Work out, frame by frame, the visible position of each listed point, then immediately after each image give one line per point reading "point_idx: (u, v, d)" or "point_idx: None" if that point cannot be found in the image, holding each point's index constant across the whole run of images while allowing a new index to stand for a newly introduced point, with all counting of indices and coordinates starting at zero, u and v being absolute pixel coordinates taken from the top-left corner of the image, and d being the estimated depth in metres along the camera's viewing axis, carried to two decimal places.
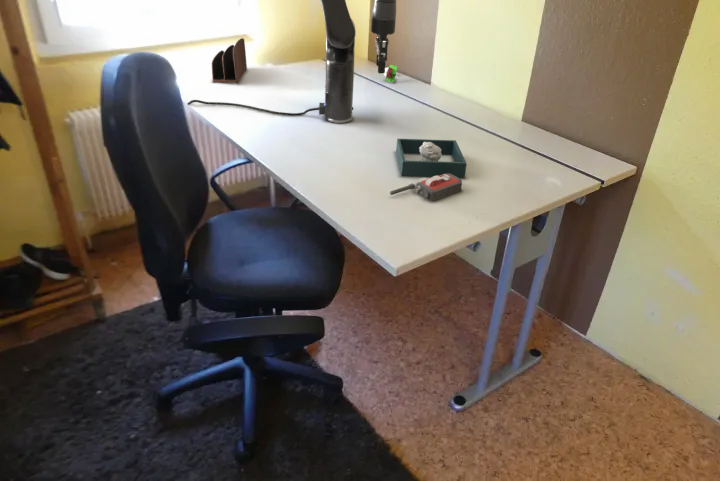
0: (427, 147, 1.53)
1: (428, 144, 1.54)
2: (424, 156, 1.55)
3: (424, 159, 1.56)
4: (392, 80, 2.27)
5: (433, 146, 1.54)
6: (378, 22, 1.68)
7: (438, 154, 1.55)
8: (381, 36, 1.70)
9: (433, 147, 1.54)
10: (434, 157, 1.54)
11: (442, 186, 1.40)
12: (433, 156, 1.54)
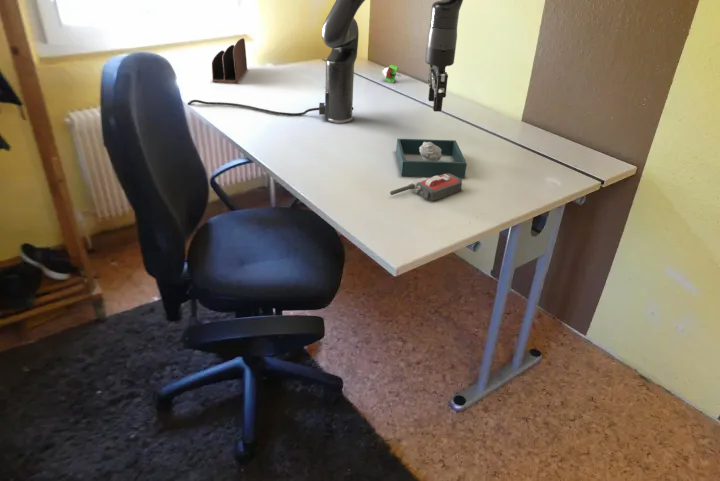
0: (427, 147, 1.53)
1: (428, 144, 1.54)
2: (424, 156, 1.55)
3: (424, 159, 1.56)
4: (392, 80, 2.27)
5: (433, 146, 1.54)
6: (436, 52, 1.40)
7: (438, 154, 1.55)
8: (439, 68, 1.42)
9: (433, 147, 1.54)
10: (434, 157, 1.54)
11: (442, 186, 1.40)
12: (433, 156, 1.54)
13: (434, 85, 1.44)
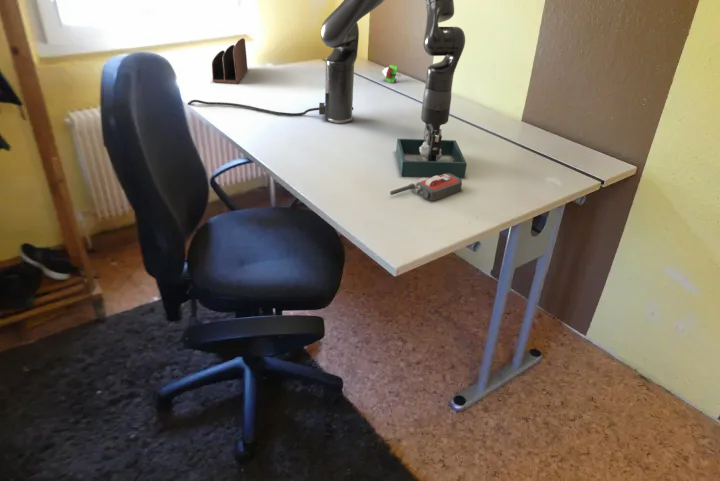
0: (427, 147, 1.53)
1: None
2: (424, 156, 1.55)
3: (424, 159, 1.56)
4: (392, 80, 2.27)
5: None
6: (431, 112, 1.47)
7: None
8: (433, 126, 1.48)
9: None
10: None
11: (442, 186, 1.40)
12: None
13: (429, 143, 1.51)
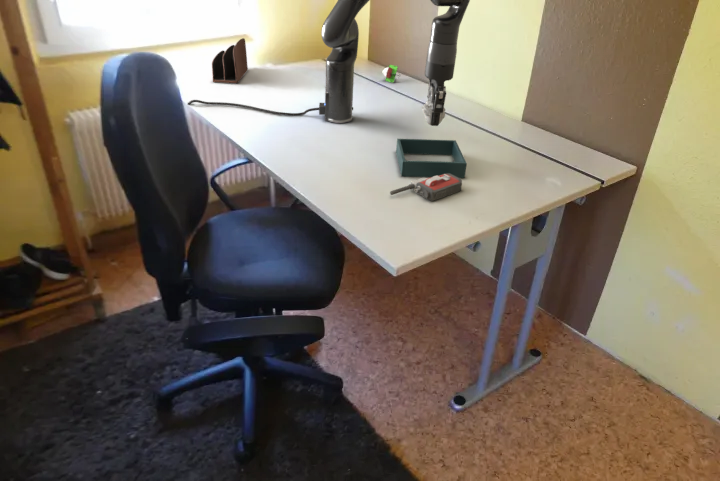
0: (430, 105, 1.47)
1: None
2: (427, 115, 1.49)
3: (427, 118, 1.50)
4: (392, 80, 2.27)
5: (437, 105, 1.48)
6: (435, 66, 1.40)
7: (442, 113, 1.49)
8: (438, 83, 1.42)
9: (437, 106, 1.48)
10: None
11: (442, 186, 1.40)
12: None
13: (432, 100, 1.45)
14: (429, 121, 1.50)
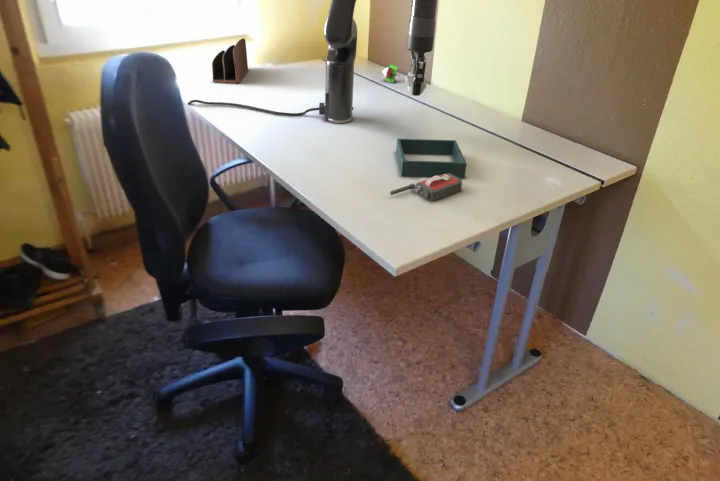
0: (412, 76, 1.59)
1: None
2: (410, 85, 1.60)
3: (410, 89, 1.61)
4: (392, 80, 2.27)
5: (418, 75, 1.59)
6: (415, 39, 1.52)
7: (423, 83, 1.60)
8: (418, 54, 1.54)
9: (418, 76, 1.59)
10: None
11: (442, 186, 1.40)
12: None
13: (414, 71, 1.56)
14: (411, 91, 1.61)
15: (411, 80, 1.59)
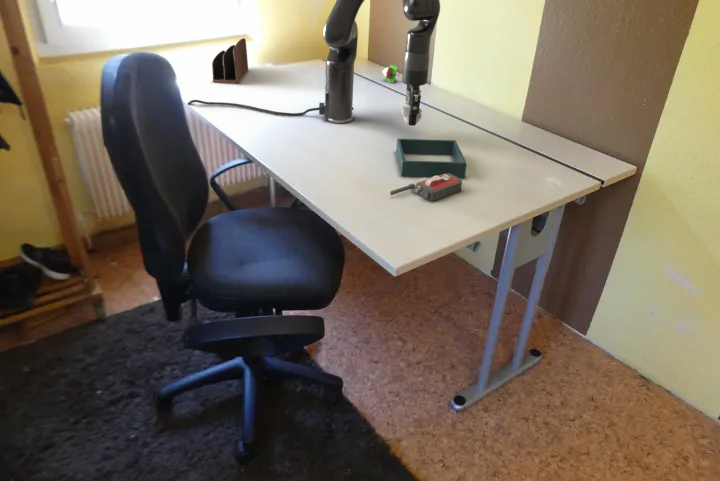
0: (408, 107, 1.66)
1: None
2: (405, 116, 1.67)
3: (406, 119, 1.68)
4: (392, 80, 2.27)
5: None
6: (410, 73, 1.59)
7: (418, 114, 1.67)
8: (413, 87, 1.61)
9: (414, 107, 1.66)
10: None
11: (442, 186, 1.40)
12: None
13: (409, 103, 1.64)
14: (407, 121, 1.68)
15: (407, 111, 1.66)
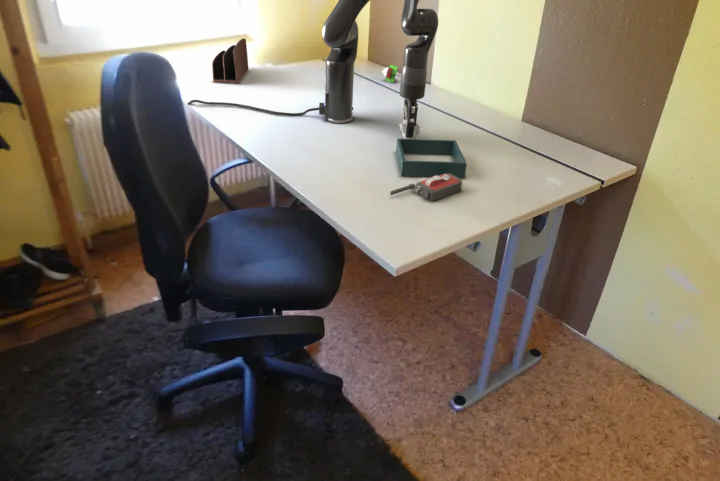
0: None
1: None
2: (404, 132, 1.70)
3: (404, 135, 1.71)
4: (392, 80, 2.27)
5: None
6: (408, 87, 1.61)
7: (417, 130, 1.70)
8: (410, 101, 1.63)
9: None
10: (413, 133, 1.69)
11: (442, 186, 1.40)
12: None
13: (406, 115, 1.65)
14: (406, 137, 1.71)
15: (405, 127, 1.69)
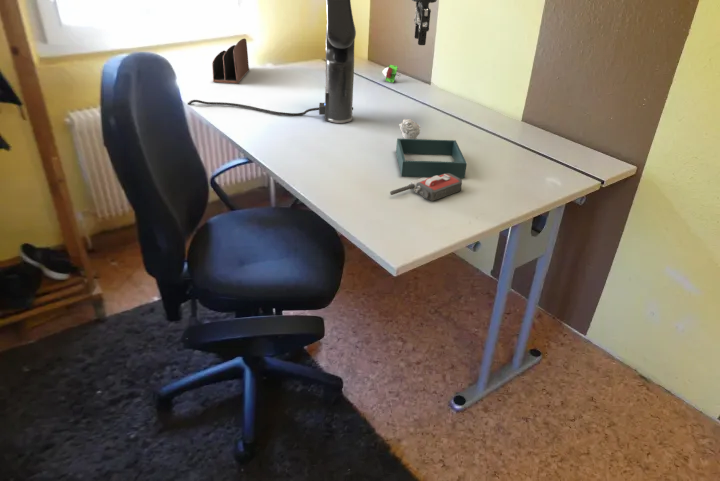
0: (407, 124, 1.69)
1: (407, 121, 1.69)
2: (404, 132, 1.70)
3: (404, 135, 1.71)
4: (392, 80, 2.27)
5: (412, 123, 1.69)
6: None
7: (417, 130, 1.70)
8: (423, 4, 1.58)
9: (412, 124, 1.69)
10: (413, 133, 1.69)
11: (442, 186, 1.40)
12: (412, 132, 1.69)
13: (419, 20, 1.60)
14: (406, 137, 1.71)
15: (405, 127, 1.69)
